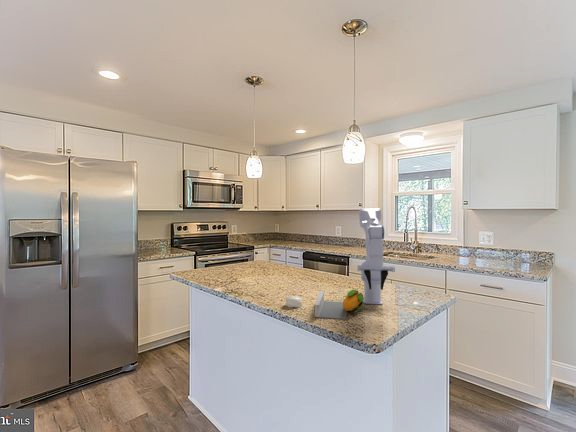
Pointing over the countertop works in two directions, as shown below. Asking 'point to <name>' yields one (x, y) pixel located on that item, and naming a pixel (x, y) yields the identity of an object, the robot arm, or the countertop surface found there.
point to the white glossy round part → (293, 301)
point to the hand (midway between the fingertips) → (375, 289)
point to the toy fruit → (353, 300)
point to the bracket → (329, 308)
